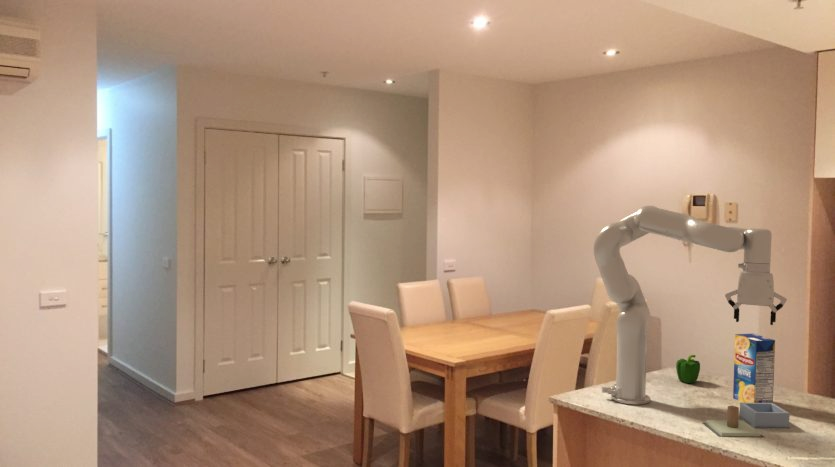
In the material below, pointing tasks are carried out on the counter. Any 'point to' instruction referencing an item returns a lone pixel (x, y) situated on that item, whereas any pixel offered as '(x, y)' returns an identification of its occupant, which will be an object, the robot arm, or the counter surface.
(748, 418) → the dish
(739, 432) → the lid
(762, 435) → the mat
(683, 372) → the bell pepper
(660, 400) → the counter surface
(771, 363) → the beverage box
